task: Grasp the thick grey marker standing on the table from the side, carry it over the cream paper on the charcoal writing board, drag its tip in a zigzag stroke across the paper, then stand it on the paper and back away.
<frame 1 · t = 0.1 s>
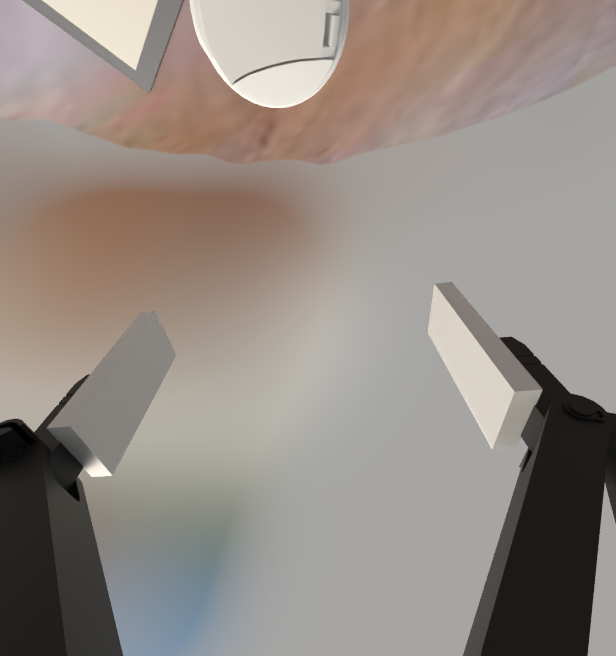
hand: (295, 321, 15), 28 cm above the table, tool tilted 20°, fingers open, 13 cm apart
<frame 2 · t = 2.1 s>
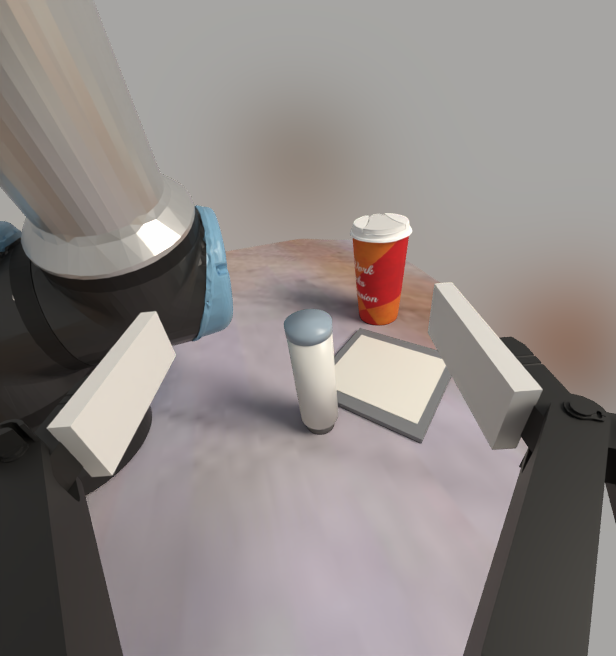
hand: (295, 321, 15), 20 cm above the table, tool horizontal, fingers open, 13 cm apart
writing board: (384, 375, 39), on the table
coffee cup: (378, 316, 50), on the table
thick grey marker: (320, 422, 34), on the table
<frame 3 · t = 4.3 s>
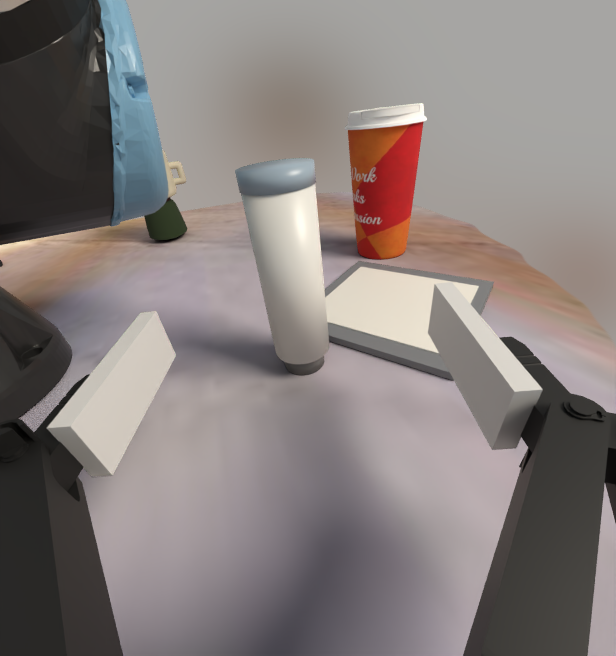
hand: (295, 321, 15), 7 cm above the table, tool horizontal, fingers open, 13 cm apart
writing board: (392, 307, 29), on the table
character mug: (171, 238, 55), on the table
coffee cup: (381, 251, 40), on the table
thick grey marker: (304, 361, 24), on the table
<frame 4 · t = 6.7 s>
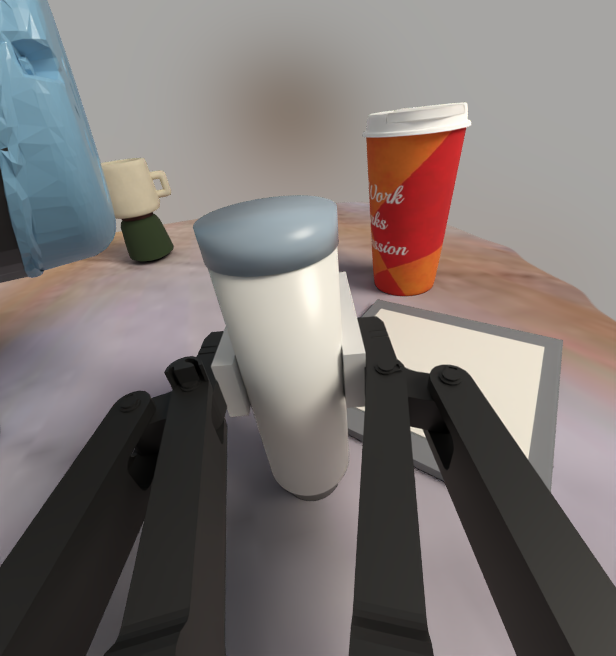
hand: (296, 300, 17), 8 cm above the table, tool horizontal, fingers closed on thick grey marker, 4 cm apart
writing board: (429, 374, 21), on the table
character mug: (155, 258, 48), on the table
coffee cup: (403, 284, 33), on the table
thick grey marker: (312, 472, 17), on the table, touching gripper
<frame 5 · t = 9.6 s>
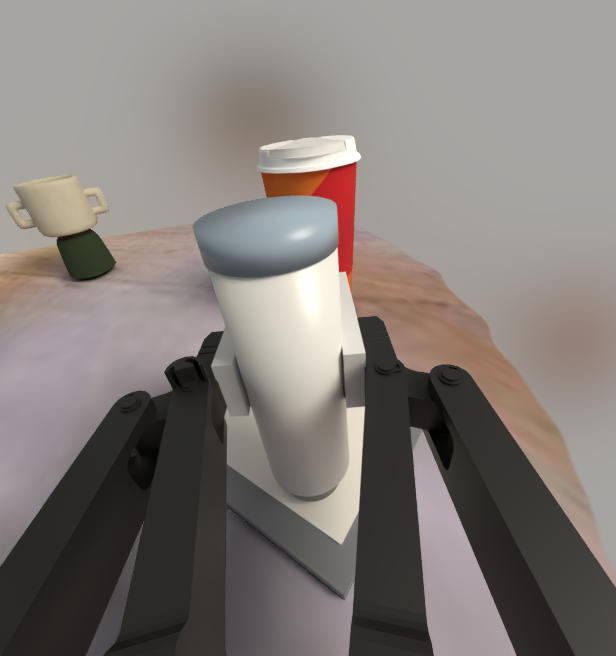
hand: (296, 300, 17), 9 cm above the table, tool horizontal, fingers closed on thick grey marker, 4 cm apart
writing board: (304, 416, 21), on the table
character mug: (96, 274, 47), on the table
coffee cup: (321, 310, 33), on the table
thick grey marker: (312, 472, 17), point 1 cm above the table, touching gripper
when the fingers open (8 cm above the table, at t = 12.7 s): thick grey marker stays where it is, resting on writing board.
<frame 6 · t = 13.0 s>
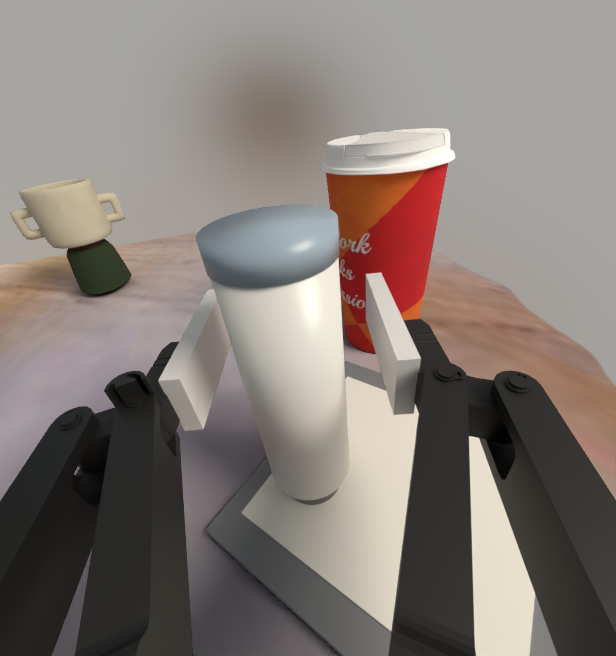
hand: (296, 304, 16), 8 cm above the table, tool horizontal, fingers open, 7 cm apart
writing board: (397, 488, 16), on the table
character mug: (110, 288, 43), on the table
coffee cup: (379, 335, 28), on the table
thick grey marker: (313, 476, 17), point 1 cm above the table, touching writing board
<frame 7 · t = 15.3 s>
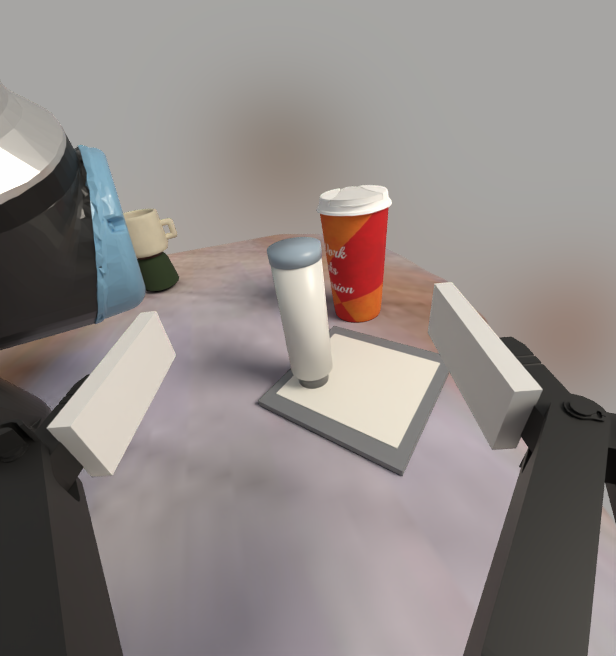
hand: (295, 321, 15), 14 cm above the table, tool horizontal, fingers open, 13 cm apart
writing board: (359, 383, 31), on the table
character mug: (163, 287, 57), on the table
coffee cup: (357, 312, 42), on the table
thick grey marker: (313, 378, 31), point 1 cm above the table, touching writing board
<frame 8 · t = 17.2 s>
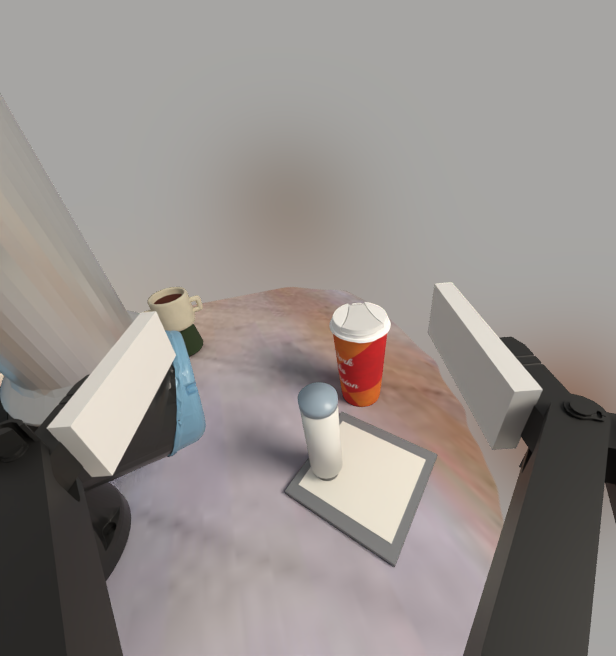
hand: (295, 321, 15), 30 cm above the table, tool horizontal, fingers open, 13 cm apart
writing board: (362, 474, 39), on the table
character mug: (189, 350, 66), on the table
coffee cup: (360, 393, 51), on the table
thick grey marker: (327, 469, 40), point 1 cm above the table, touching writing board
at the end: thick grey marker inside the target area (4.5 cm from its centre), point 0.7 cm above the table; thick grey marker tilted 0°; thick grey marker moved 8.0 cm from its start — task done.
